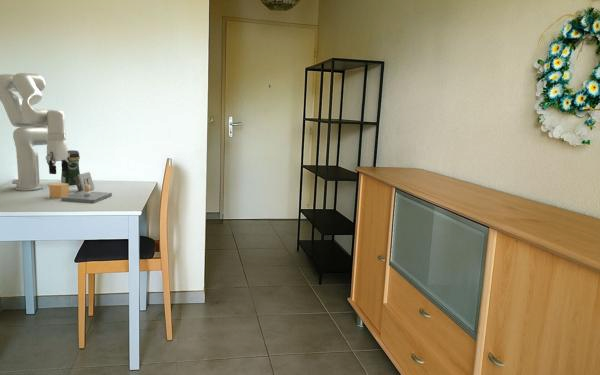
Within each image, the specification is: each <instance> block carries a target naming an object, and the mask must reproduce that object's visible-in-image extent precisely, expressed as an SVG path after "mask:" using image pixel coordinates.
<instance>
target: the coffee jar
mask: <svg viewBox="0 0 600 375" xmlns="http://www.w3.org/2000/svg"><path fill="white" fill-rule="evenodd" d="M67 150H68V149H67ZM68 153H70V156H69V163H68V168H69V171H62V170H61V175H60V176H61V179H60V183H66V184H68V186H72V185H74V186H75V185H76V182H75V178H74V177H77V176H78V175H79V174H81V172H80V166H79V165H80V163H79V162H80V158H81V156H80V152H79V151H78V150H75V149H74V150H72V149H71V150H68ZM61 163H62V161H61ZM78 184H79V183H78Z"/></svg>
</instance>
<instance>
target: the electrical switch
mask: <svg viewBox="0 0 600 375" xmlns="http://www.w3.org/2000/svg"><path fill="white" fill-rule="evenodd" d="M74 178H75V182H76V184H75V185H76V188H77V192H79V191H84V185H90V191H92V190H95V184H94V180H93V178H92V174H91V172H90V171H88V172H87V171H86V172H83V173H80V174H79V175H78V176H77V177H74ZM78 183H79V184H78Z"/></svg>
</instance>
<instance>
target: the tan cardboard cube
mask: <svg viewBox="0 0 600 375" xmlns="http://www.w3.org/2000/svg"><path fill="white" fill-rule="evenodd" d="M69 186H70V185H68V184H66V183H61V182H55V183H52V184H49V185H48V189H49V190H48V191H49V198H55V199H56V198H57V199H58V198H59V199H61V197H64V196H67V195H70V192H69V191H70V190H69V189H70V188H69Z"/></svg>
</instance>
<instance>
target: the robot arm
mask: <svg viewBox="0 0 600 375" xmlns="http://www.w3.org/2000/svg"><path fill="white" fill-rule="evenodd" d="M45 89H46V81H45V78H44V77H43V76H41V74H38V73H25V72H24V73H23V72H20V73H15V74H11V73H10V74H9V73H3V74H0V102H1V104H2V106H3V108H4V111H5V112H6V115H7V118H8V119H9V122H10V124H11V125H12V126H13V127H15V128H16V129H14V130H13V132H12V139H13V142H14V145H15V146H14V147H15V153H16V154H15V155H16V163H17V165H16V166H17V168H16V169H17V179H13V180H12V181H11V184H12V185H16V186H15V187H14V189H15V190H17V191H23V192H24V191H27V192H28V191H38V190H43V189H44V185H42V184H41V183H40V164H39V153H38V152H37V150H36V149H35V146H46V156H45V160H46V163H47V166H48V173H49V174H50V175H56V174H57V166H56V162H60V161H62V162H61V172H62V171H69V168H68V163H69V156H70V153H68V145H67V137H66V136H67V135H66V132H67V131H66V118H65V113H64V111H63V110H56V109H54V110H53V109H36V108H33V107H32V106H35V105H37V104H39V103H40V102H41V100H42V98H43V94H42V91H44V90H45ZM13 92H16V93H17V92H18V93H19V95H20V97H21V98H22V99H20V97H18V95H16V94H15V93H13Z"/></svg>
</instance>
